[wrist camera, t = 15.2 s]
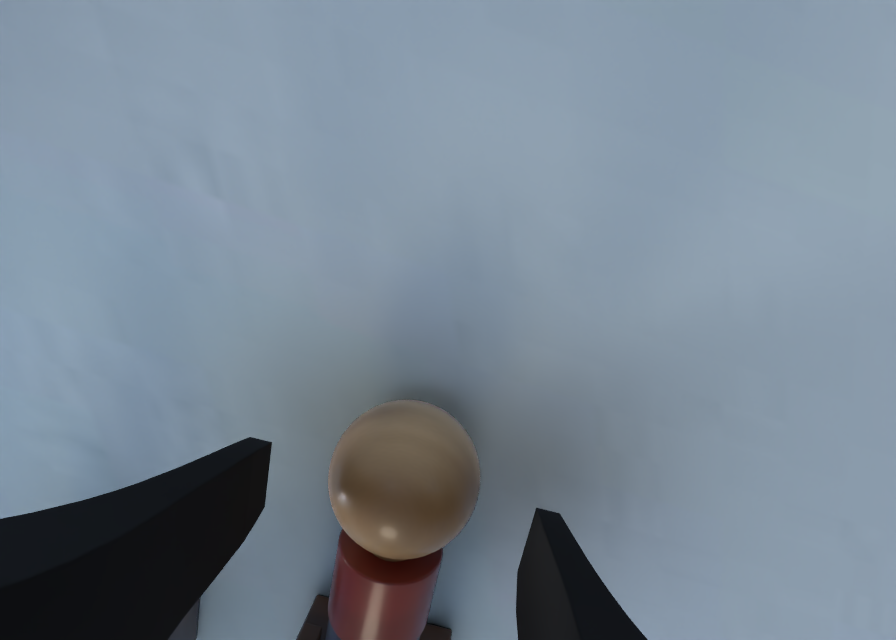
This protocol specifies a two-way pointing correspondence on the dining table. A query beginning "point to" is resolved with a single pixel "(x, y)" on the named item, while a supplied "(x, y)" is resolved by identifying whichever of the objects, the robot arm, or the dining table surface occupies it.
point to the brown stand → (317, 620)
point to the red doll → (396, 516)
